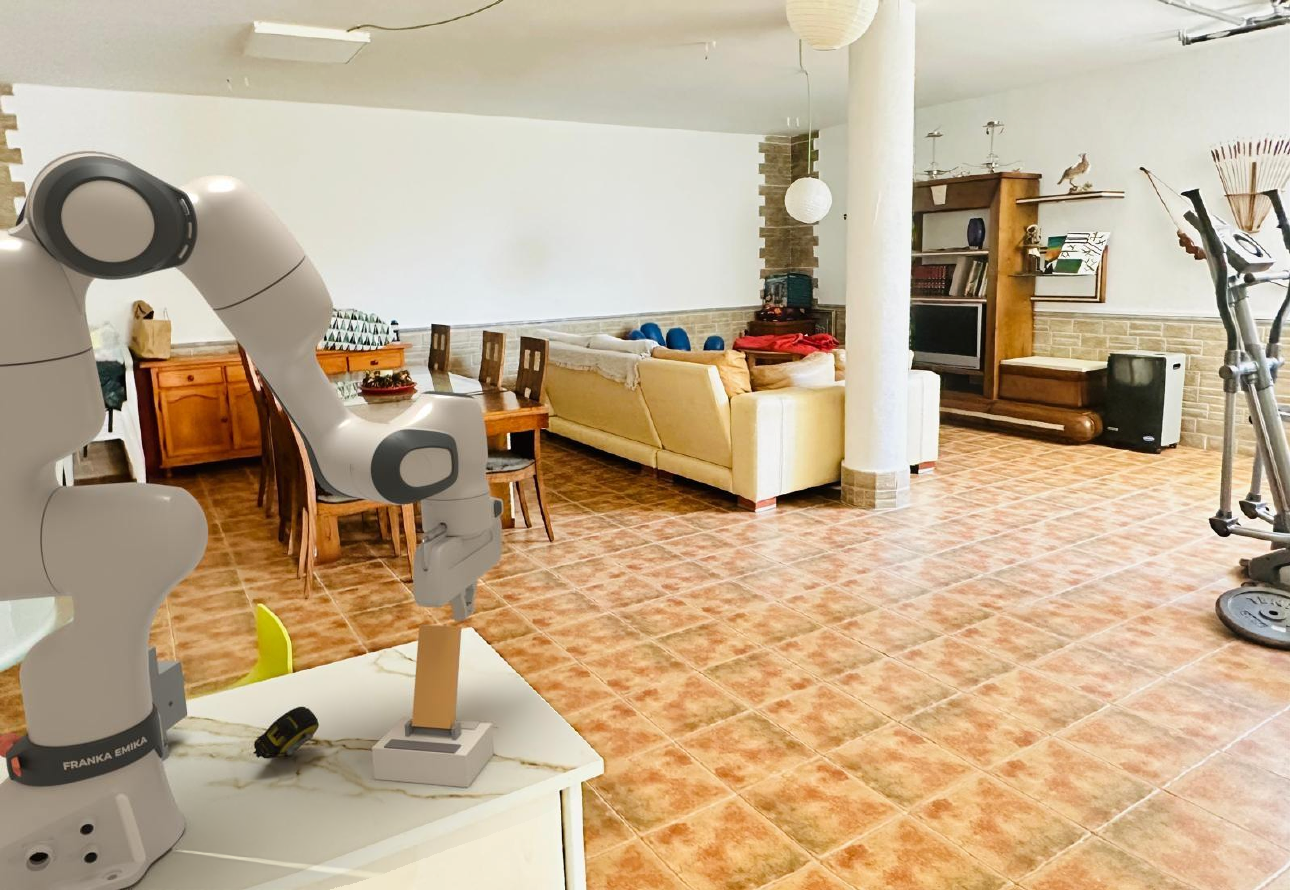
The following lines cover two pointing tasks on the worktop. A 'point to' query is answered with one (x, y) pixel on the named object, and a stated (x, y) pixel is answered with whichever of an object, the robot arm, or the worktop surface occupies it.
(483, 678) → the worktop surface
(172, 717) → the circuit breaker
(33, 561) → the robot arm
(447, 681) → the lever
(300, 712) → the tape measure
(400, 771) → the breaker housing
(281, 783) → the worktop surface
